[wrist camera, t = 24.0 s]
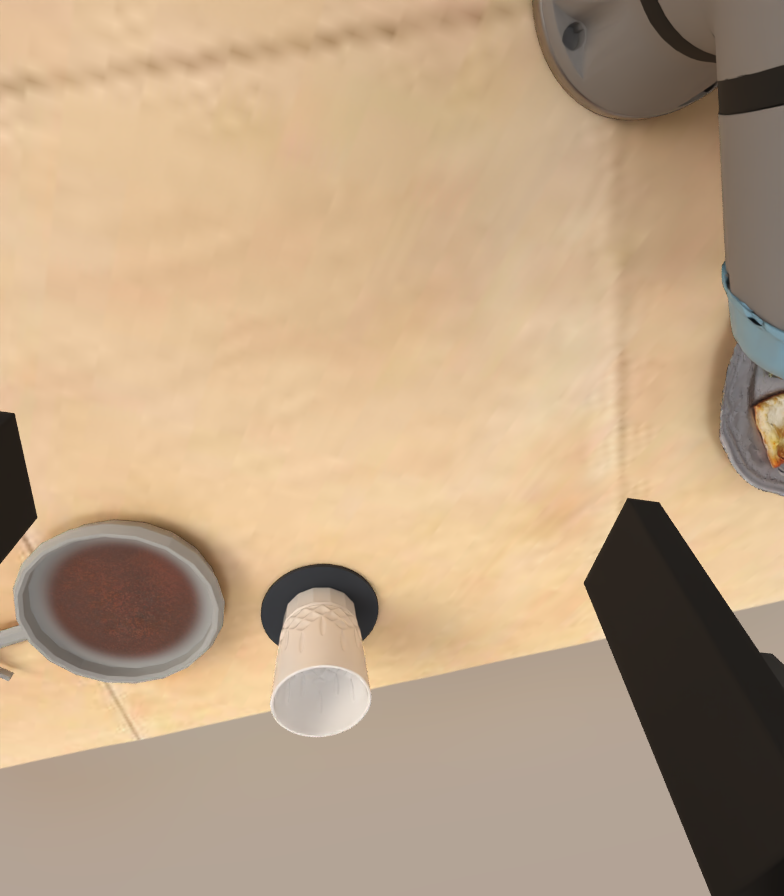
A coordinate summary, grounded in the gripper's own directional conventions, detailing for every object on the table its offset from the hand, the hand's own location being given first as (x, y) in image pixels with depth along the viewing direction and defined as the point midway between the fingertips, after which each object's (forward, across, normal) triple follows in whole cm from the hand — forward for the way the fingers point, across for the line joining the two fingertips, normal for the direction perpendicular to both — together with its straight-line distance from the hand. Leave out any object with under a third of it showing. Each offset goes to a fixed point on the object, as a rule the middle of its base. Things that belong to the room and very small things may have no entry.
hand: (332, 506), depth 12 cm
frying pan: (+24, -21, -36) cm, 48 cm away
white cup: (+26, +1, -34) cm, 43 cm away
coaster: (+26, +1, -34) cm, 43 cm away
